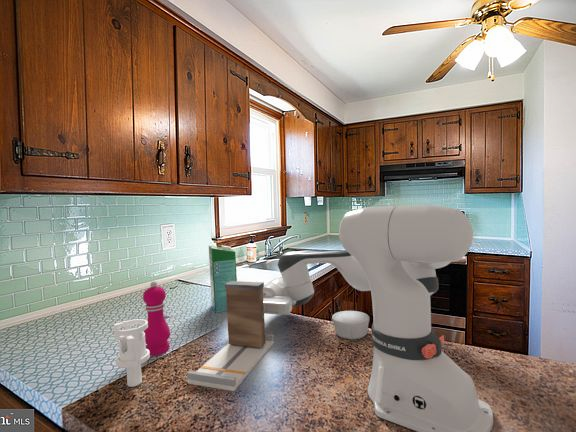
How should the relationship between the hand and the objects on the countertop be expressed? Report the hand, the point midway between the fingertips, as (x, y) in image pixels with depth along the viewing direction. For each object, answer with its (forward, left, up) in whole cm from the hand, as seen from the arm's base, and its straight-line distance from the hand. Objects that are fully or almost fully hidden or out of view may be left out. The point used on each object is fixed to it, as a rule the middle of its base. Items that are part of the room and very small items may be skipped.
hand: (250, 313), depth 91 cm
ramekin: (-18, -24, -9) cm, 31 cm away
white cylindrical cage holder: (+3, +32, -9) cm, 33 cm away
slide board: (-6, +10, -9) cm, 14 cm away
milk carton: (+34, -11, -9) cm, 37 cm away
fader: (-2, +3, -7) cm, 8 cm away
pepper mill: (+16, +22, -9) cm, 29 cm away
